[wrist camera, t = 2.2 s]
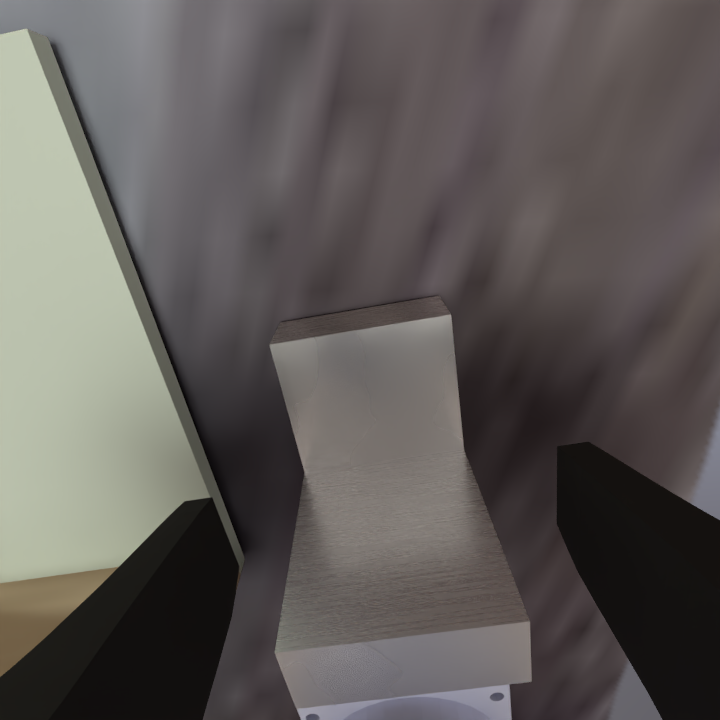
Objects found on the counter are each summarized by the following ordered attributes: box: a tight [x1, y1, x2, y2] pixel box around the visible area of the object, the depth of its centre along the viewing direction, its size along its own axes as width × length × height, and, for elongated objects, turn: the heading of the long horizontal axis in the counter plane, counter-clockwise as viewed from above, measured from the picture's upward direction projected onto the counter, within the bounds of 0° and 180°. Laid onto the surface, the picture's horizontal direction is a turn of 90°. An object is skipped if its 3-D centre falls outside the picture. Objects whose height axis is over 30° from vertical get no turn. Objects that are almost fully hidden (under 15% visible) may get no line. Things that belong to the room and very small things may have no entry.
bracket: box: [269, 296, 532, 709], centre depth 9 cm, size 5×4×6 cm
